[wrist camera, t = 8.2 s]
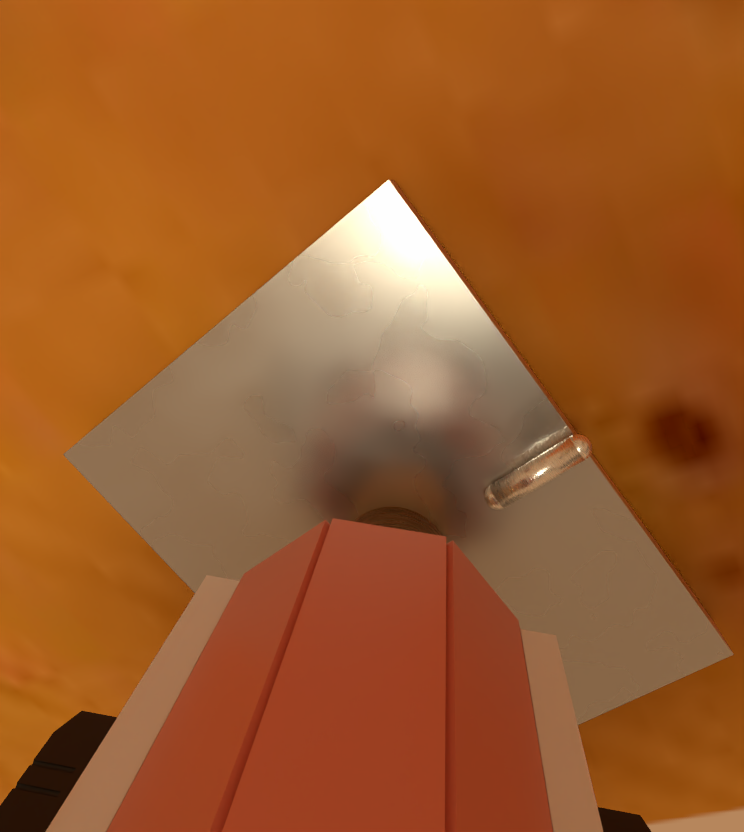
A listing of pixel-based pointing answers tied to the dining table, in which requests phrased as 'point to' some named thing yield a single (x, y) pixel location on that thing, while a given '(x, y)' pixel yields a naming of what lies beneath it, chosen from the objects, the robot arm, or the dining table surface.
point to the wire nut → (351, 700)
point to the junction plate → (398, 453)
